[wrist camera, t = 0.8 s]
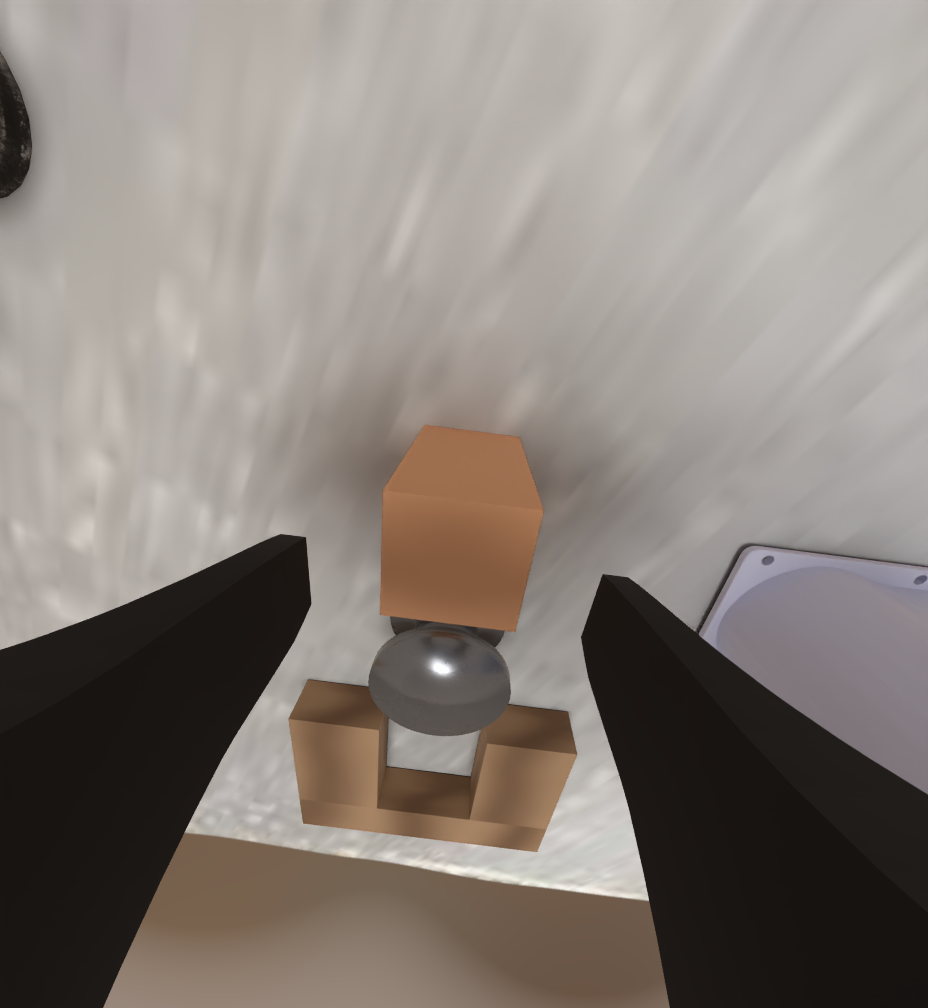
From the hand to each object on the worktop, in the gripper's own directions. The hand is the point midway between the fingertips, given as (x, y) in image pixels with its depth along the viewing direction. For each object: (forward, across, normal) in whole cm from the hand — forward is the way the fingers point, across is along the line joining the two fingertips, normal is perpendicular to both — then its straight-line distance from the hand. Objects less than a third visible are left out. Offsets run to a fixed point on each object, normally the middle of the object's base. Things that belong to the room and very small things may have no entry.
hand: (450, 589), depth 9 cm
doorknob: (+8, 0, +8) cm, 11 cm away
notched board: (+8, 0, +20) cm, 22 cm away
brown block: (+8, 0, 0) cm, 8 cm away
